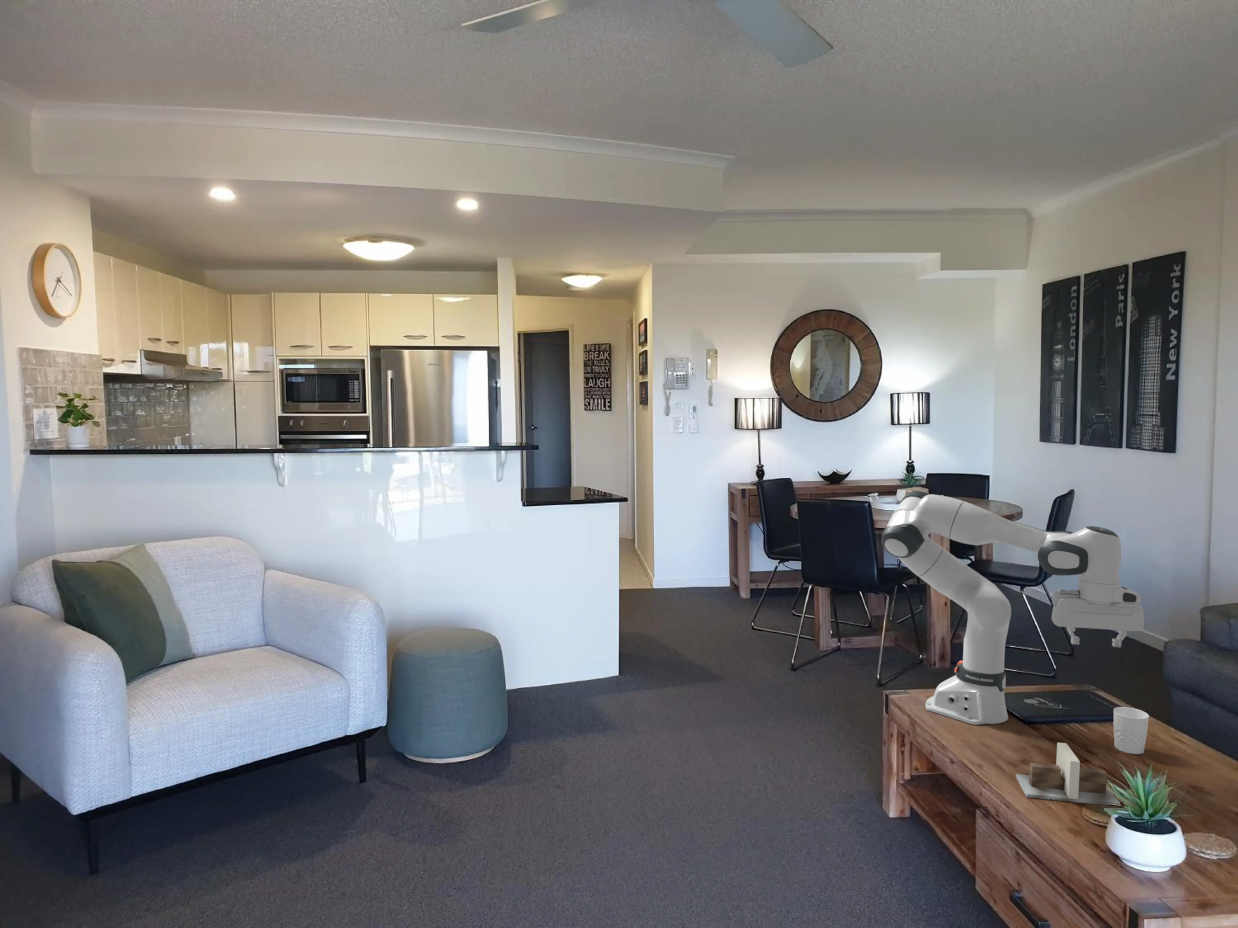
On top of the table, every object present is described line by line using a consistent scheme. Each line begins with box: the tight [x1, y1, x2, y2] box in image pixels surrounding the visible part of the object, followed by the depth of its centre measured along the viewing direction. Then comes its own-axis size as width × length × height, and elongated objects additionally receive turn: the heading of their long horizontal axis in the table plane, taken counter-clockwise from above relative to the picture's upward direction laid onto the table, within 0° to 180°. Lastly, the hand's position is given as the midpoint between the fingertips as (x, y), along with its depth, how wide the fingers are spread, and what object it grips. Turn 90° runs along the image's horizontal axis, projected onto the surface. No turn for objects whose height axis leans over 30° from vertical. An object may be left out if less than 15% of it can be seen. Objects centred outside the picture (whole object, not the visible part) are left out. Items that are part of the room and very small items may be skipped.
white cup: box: [1113, 706, 1150, 755], centre depth 212 cm, size 8×8×10 cm
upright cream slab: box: [1055, 742, 1081, 799], centre depth 189 cm, size 10×2×9 cm, turn 167°
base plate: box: [1015, 762, 1121, 806], centre depth 190 cm, size 20×10×6 cm, turn 77°
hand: (1095, 645), depth 201 cm, fingers open, 8 cm apart
